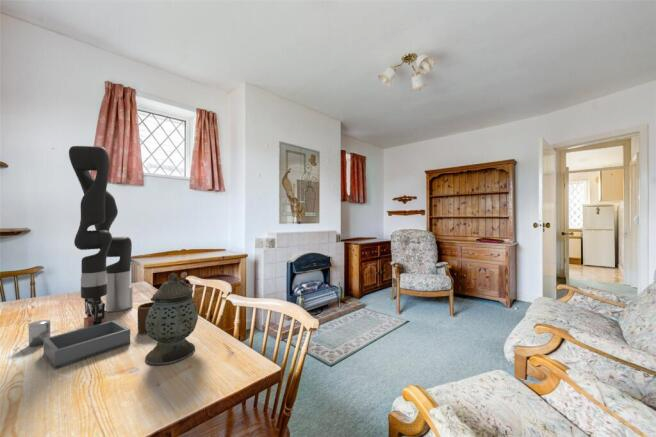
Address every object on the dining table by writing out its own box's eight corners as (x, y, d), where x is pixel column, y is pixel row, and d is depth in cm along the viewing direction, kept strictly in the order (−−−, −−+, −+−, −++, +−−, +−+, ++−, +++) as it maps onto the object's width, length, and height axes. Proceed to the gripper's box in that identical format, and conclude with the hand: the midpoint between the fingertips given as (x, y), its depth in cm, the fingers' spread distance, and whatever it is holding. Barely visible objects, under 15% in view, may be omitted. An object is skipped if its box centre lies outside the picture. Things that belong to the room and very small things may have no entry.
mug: (172, 330, 100) (172, 305, 100) (150, 338, 94) (150, 311, 94) (155, 324, 107) (155, 300, 106) (133, 331, 100) (133, 306, 100)
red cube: (101, 326, 105) (100, 313, 105) (105, 329, 102) (105, 316, 102) (84, 331, 100) (83, 317, 100) (88, 334, 98) (88, 320, 98)
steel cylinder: (48, 338, 94) (48, 318, 94) (52, 342, 91) (51, 321, 91) (27, 344, 90) (27, 323, 90) (30, 348, 87) (30, 327, 87)
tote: (114, 333, 98) (114, 320, 98) (130, 344, 90) (130, 329, 90) (43, 354, 83) (43, 338, 83) (54, 369, 75) (54, 351, 75)
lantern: (151, 347, 88) (151, 270, 88) (199, 339, 93) (199, 267, 93) (138, 370, 75) (138, 280, 75) (195, 360, 80) (194, 276, 80)
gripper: (113, 284, 100) (114, 329, 100) (100, 279, 108) (100, 320, 108) (87, 288, 94) (87, 336, 94) (75, 283, 102) (75, 327, 102)
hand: (94, 328), depth 101 cm, fingers open, 6 cm apart
